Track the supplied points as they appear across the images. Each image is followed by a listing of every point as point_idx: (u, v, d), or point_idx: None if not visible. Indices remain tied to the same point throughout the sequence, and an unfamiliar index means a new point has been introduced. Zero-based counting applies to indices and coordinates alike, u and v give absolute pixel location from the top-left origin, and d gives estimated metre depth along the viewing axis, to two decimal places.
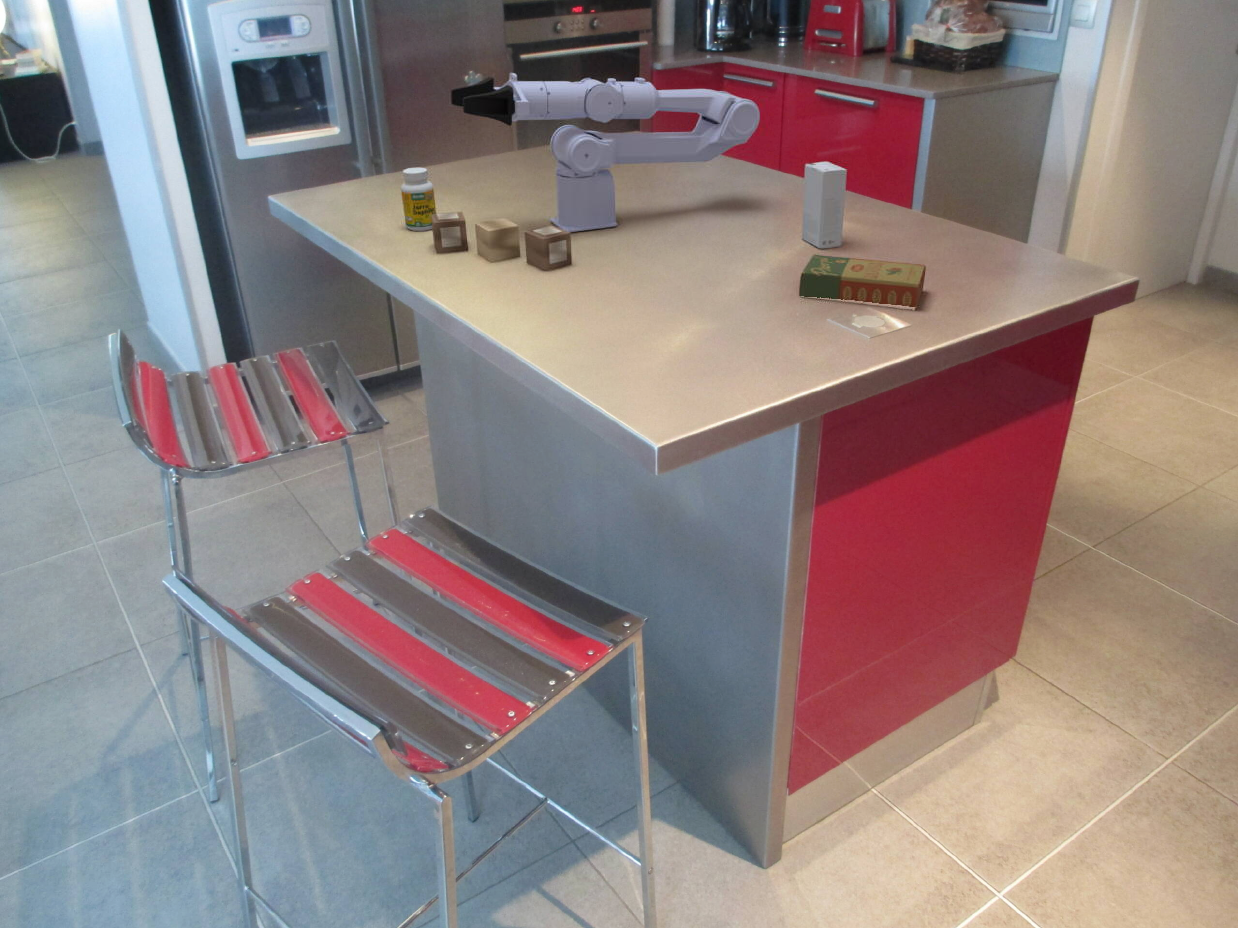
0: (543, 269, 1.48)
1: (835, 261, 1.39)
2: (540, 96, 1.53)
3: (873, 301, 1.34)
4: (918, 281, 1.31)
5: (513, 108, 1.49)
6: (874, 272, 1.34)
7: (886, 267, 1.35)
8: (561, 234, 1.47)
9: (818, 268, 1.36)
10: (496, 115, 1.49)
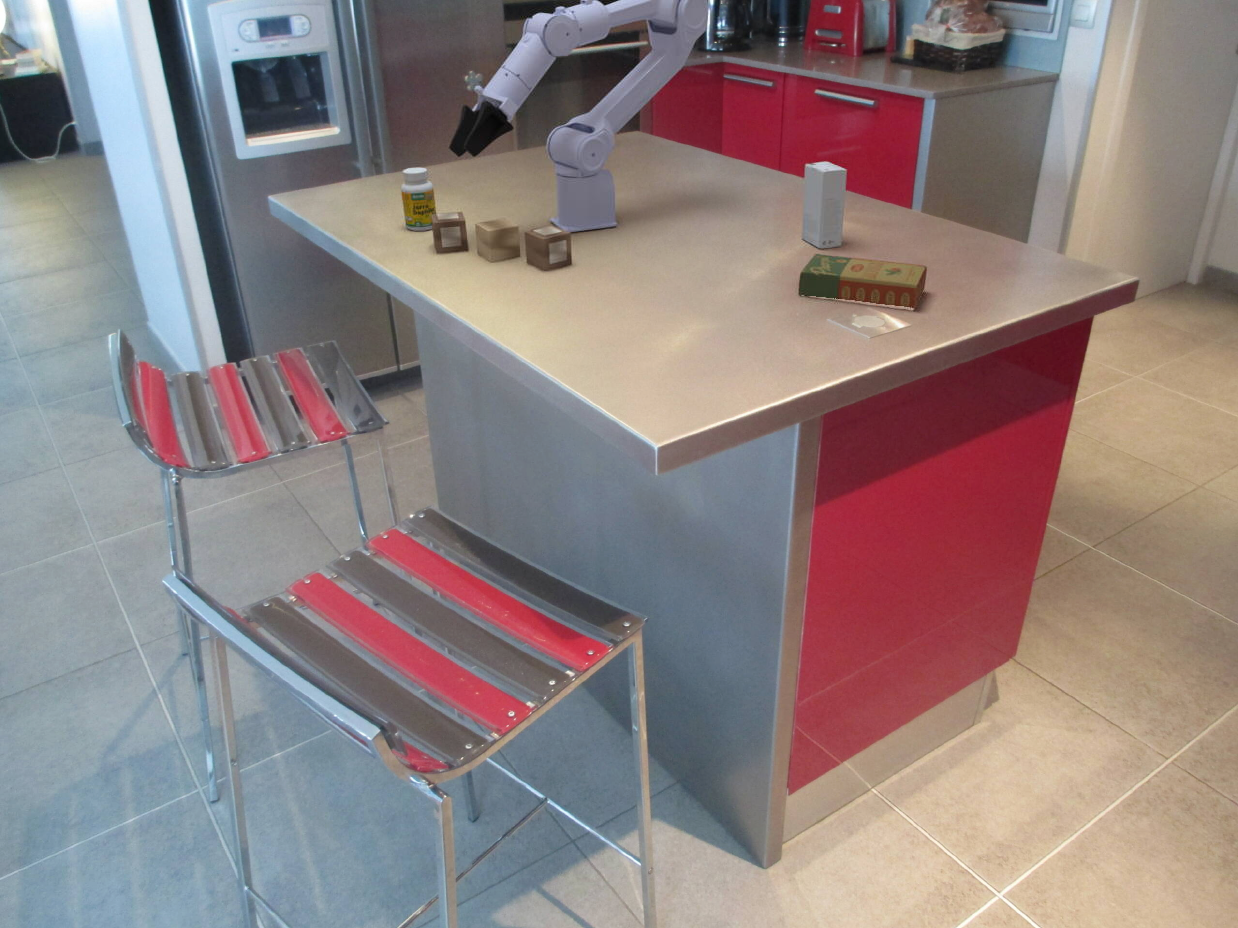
0: (543, 269, 1.48)
1: (836, 261, 1.39)
2: (511, 81, 1.47)
3: (871, 301, 1.34)
4: (916, 282, 1.31)
5: (503, 114, 1.45)
6: (873, 273, 1.34)
7: (886, 268, 1.35)
8: (561, 234, 1.47)
9: (818, 267, 1.37)
10: (497, 133, 1.46)
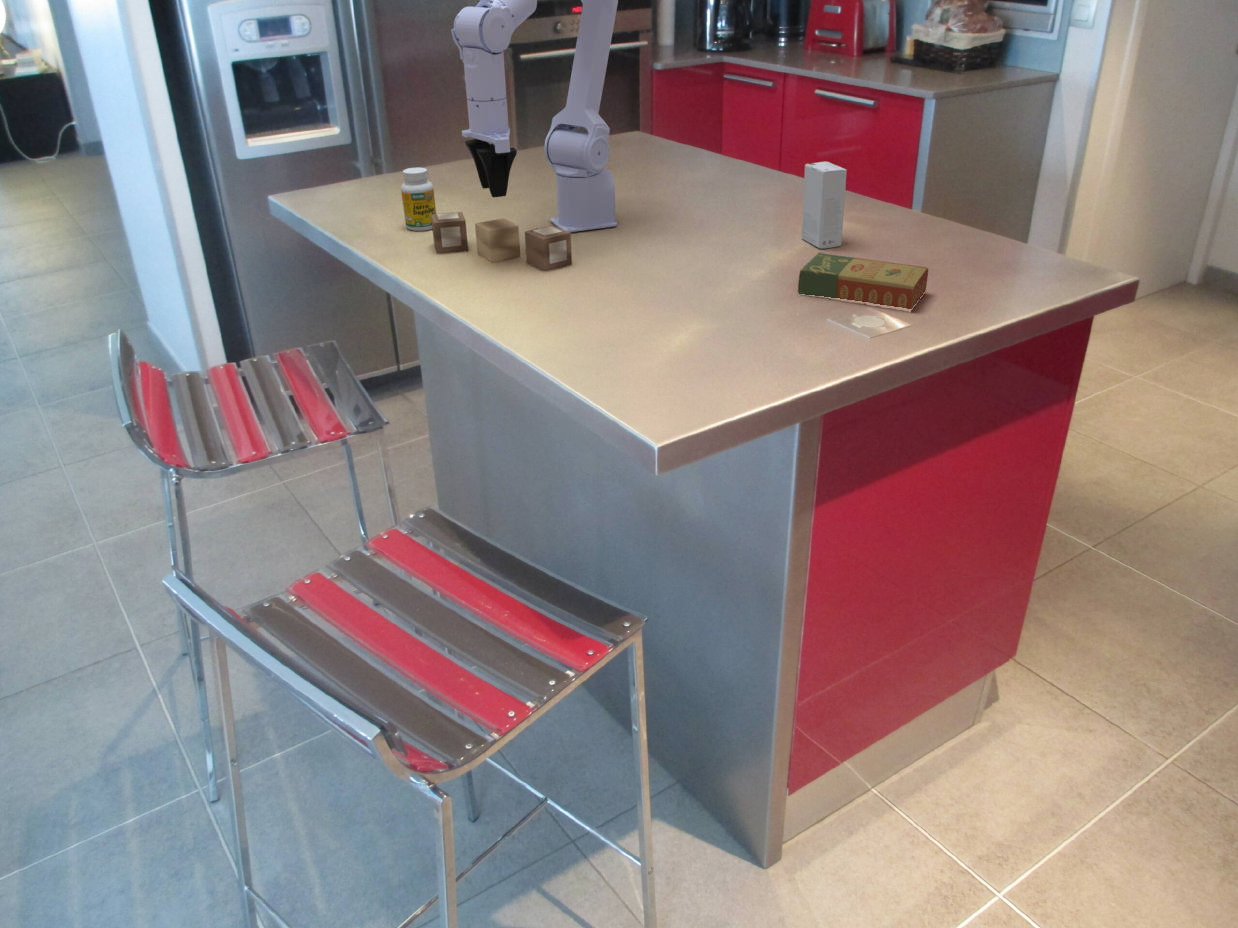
0: (543, 269, 1.48)
1: (838, 260, 1.39)
2: (485, 109, 1.41)
3: (869, 301, 1.34)
4: (914, 283, 1.31)
5: None
6: (873, 273, 1.34)
7: (886, 268, 1.35)
8: (561, 234, 1.47)
9: (818, 266, 1.37)
10: (507, 165, 1.44)
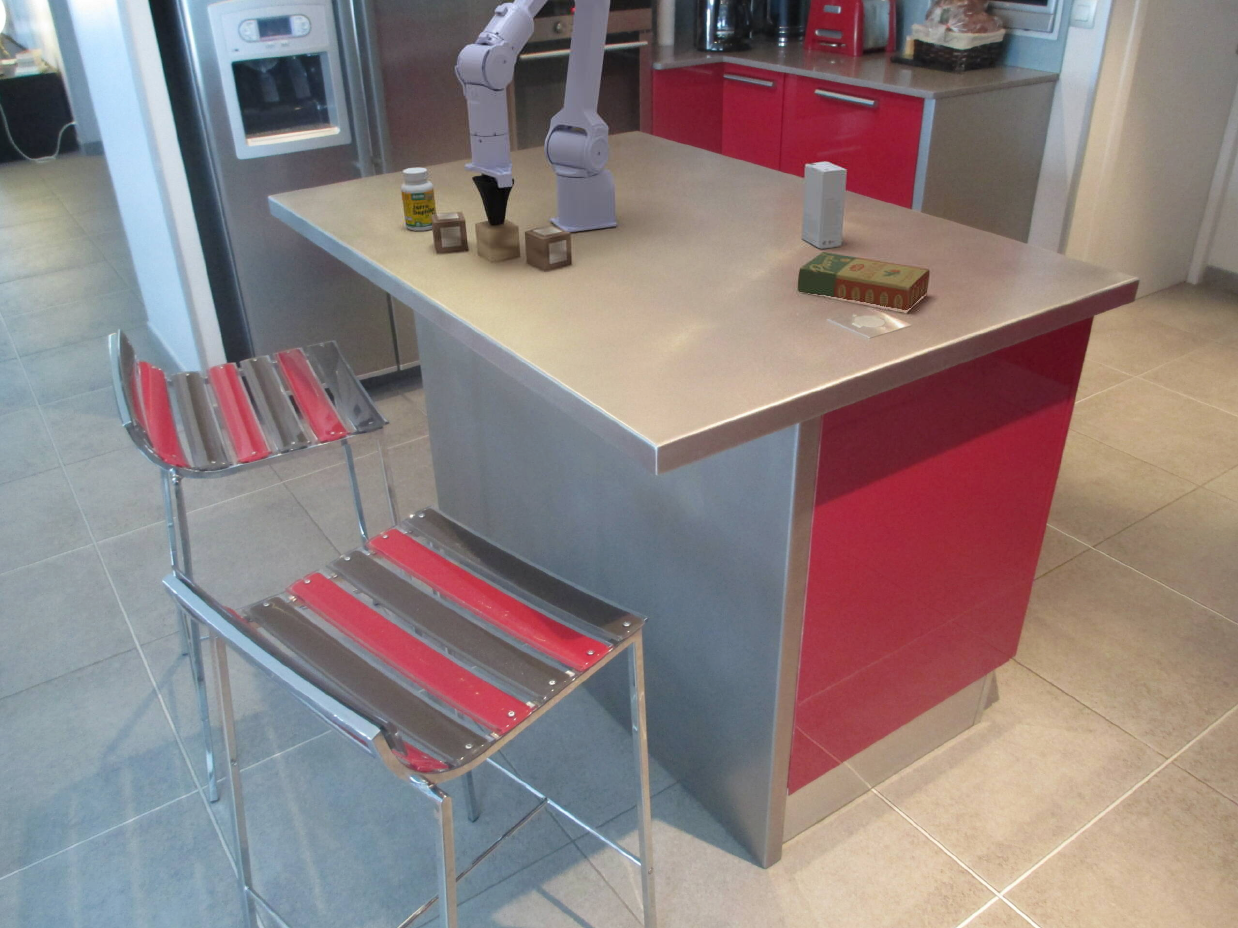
0: (543, 269, 1.48)
1: (840, 259, 1.39)
2: (488, 144, 1.43)
3: (866, 301, 1.34)
4: (910, 284, 1.30)
5: (498, 181, 1.46)
6: (871, 273, 1.34)
7: (886, 269, 1.35)
8: (561, 234, 1.47)
9: (818, 265, 1.37)
10: (505, 194, 1.49)
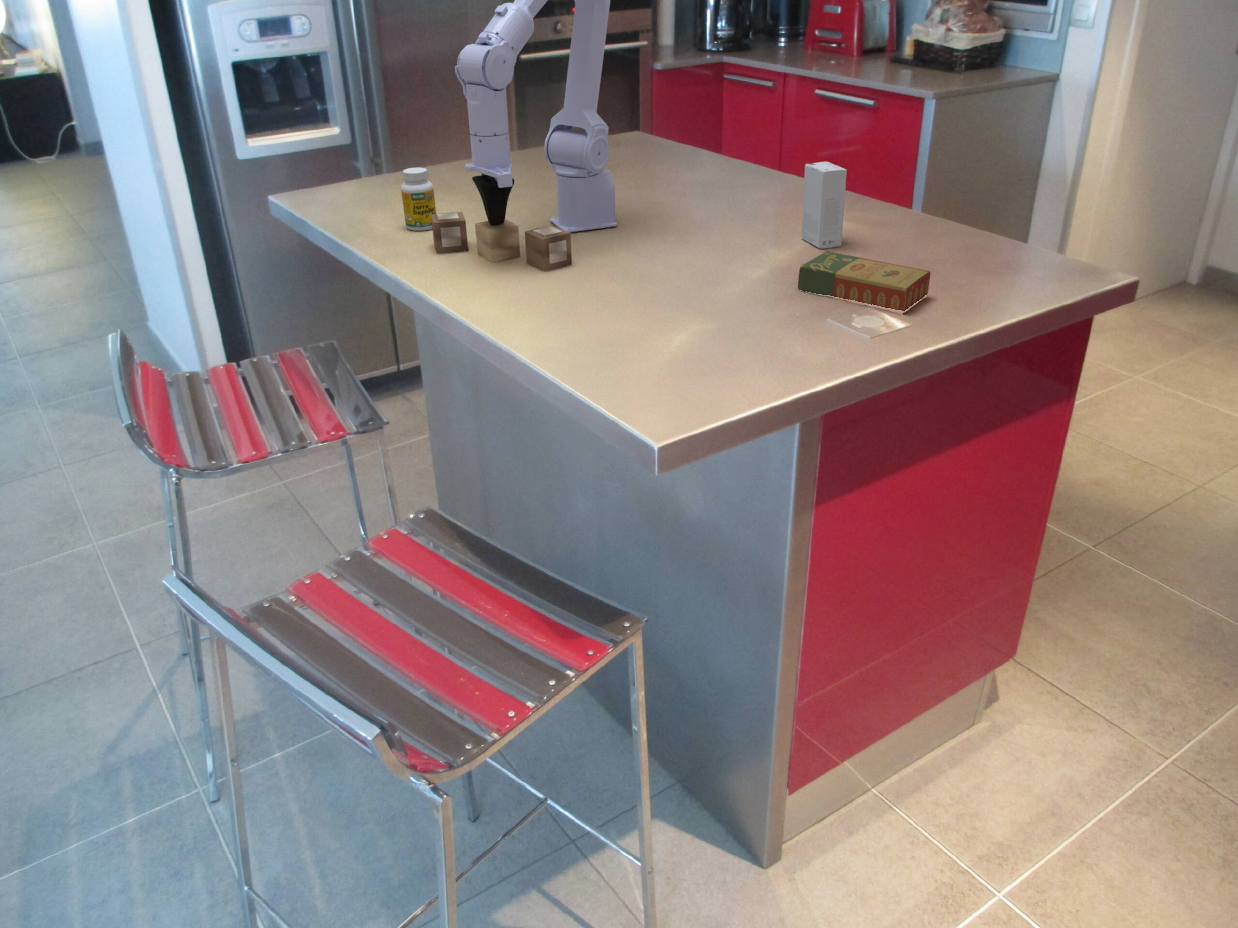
0: (543, 269, 1.48)
1: (842, 259, 1.39)
2: (488, 144, 1.43)
3: (864, 301, 1.34)
4: (908, 285, 1.30)
5: (498, 181, 1.46)
6: (870, 273, 1.34)
7: (886, 269, 1.35)
8: (561, 234, 1.47)
9: (819, 264, 1.38)
10: (505, 194, 1.49)
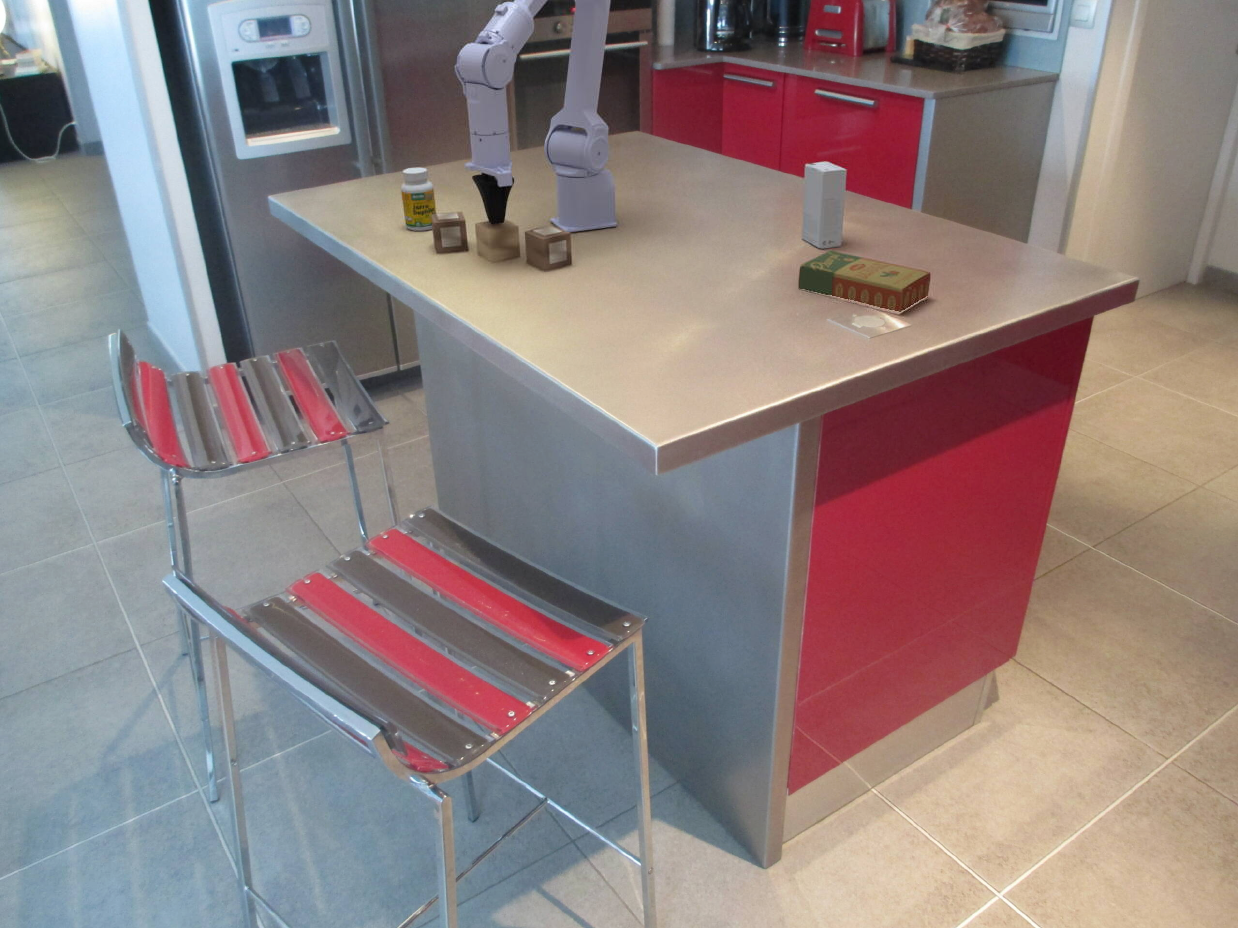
0: (543, 269, 1.48)
1: (844, 259, 1.40)
2: (488, 143, 1.43)
3: (861, 301, 1.34)
4: (904, 286, 1.30)
5: (498, 180, 1.46)
6: (869, 273, 1.34)
7: (886, 270, 1.35)
8: (561, 234, 1.47)
9: (819, 263, 1.38)
10: (505, 193, 1.49)
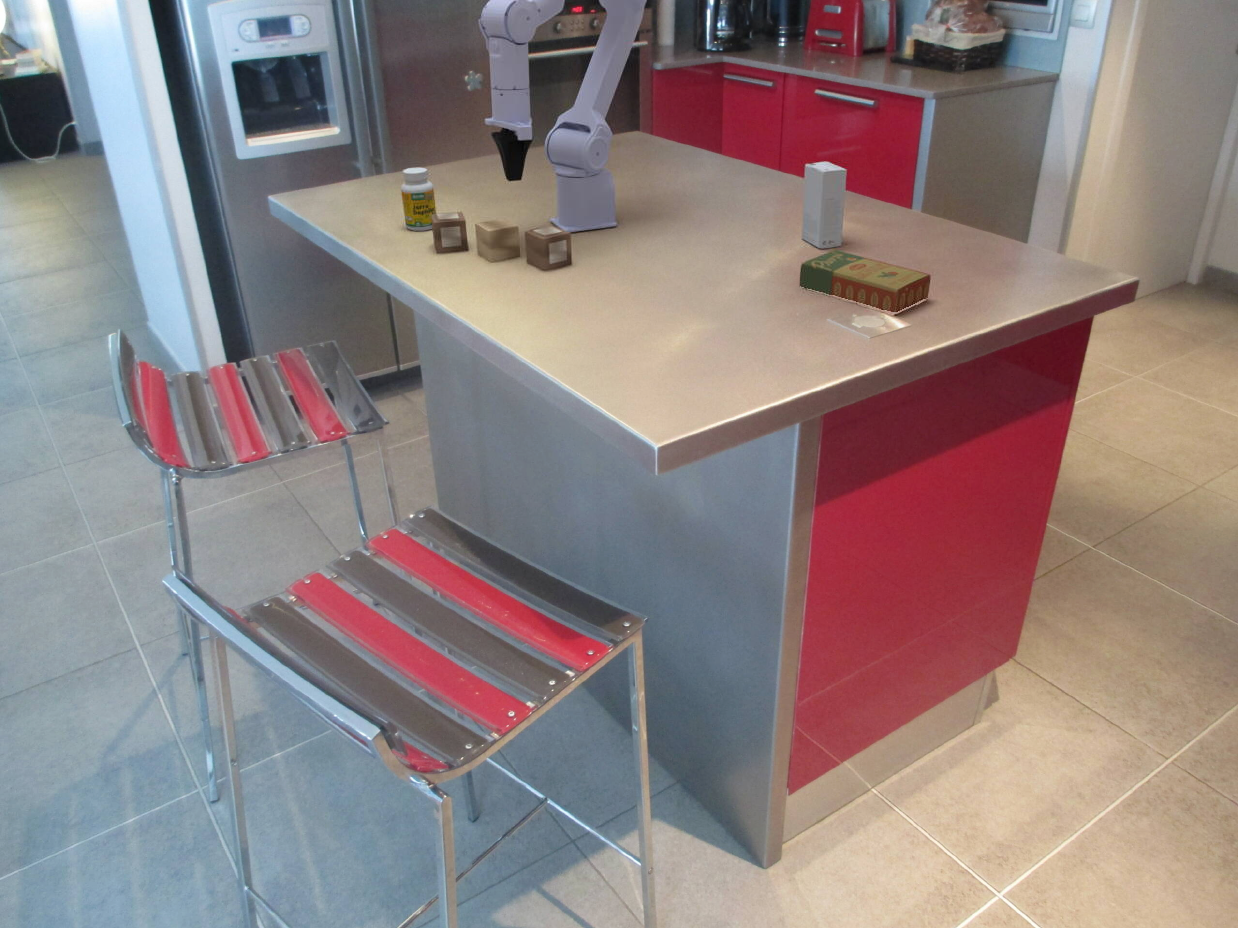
0: (543, 269, 1.48)
1: (847, 258, 1.40)
2: (509, 97, 1.45)
3: (858, 301, 1.34)
4: (900, 287, 1.29)
5: (517, 136, 1.48)
6: (867, 273, 1.34)
7: (885, 270, 1.34)
8: (561, 234, 1.47)
9: (821, 261, 1.39)
10: (523, 150, 1.50)
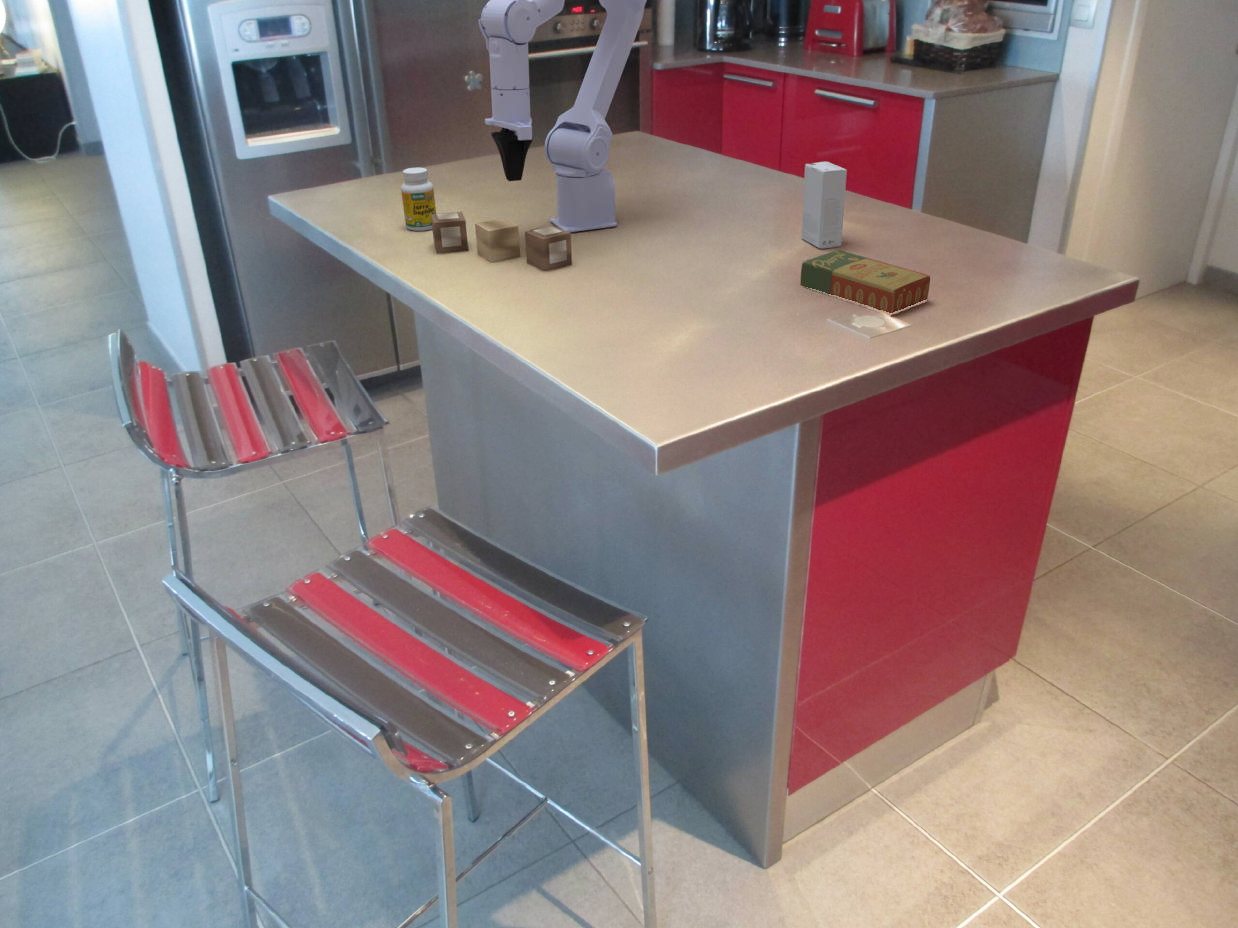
0: (543, 269, 1.48)
1: (848, 258, 1.40)
2: (509, 97, 1.45)
3: (857, 300, 1.34)
4: (897, 287, 1.29)
5: (517, 136, 1.48)
6: (866, 273, 1.34)
7: (885, 271, 1.34)
8: (561, 234, 1.47)
9: (822, 261, 1.39)
10: (523, 150, 1.50)
